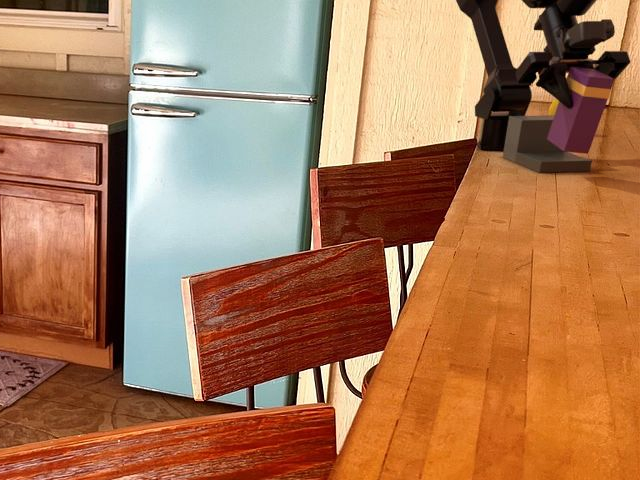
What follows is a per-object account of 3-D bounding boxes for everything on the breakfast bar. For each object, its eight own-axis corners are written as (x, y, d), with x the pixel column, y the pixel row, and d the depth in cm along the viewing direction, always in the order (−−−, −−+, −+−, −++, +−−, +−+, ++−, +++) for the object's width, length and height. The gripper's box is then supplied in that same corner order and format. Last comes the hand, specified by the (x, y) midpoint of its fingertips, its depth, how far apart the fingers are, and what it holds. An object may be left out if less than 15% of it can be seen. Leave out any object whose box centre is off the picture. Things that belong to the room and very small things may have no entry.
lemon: (566, 128, 206) (573, 92, 203) (574, 132, 201) (581, 96, 198) (542, 127, 206) (548, 92, 203) (549, 132, 201) (556, 95, 198)
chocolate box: (563, 151, 156) (589, 76, 149) (546, 138, 163) (570, 66, 156) (588, 154, 156) (615, 79, 150) (570, 141, 163) (595, 69, 156)
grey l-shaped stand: (502, 157, 175) (509, 116, 172) (549, 156, 177) (557, 115, 173) (539, 172, 163) (547, 128, 159) (589, 171, 164) (598, 127, 161)
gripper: (536, 2, 151) (558, 78, 146) (636, 2, 154) (662, 76, 148) (506, 46, 162) (525, 118, 157) (600, 45, 164) (623, 116, 159)
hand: (584, 106), depth 155 cm, fingers closed on chocolate box, 5 cm apart
